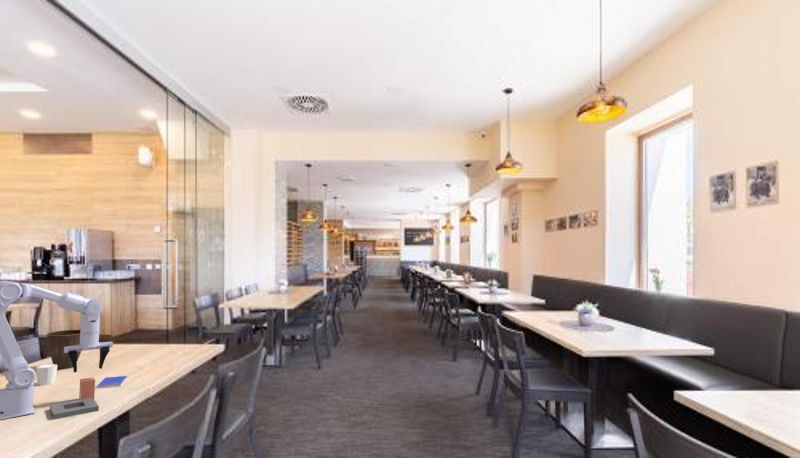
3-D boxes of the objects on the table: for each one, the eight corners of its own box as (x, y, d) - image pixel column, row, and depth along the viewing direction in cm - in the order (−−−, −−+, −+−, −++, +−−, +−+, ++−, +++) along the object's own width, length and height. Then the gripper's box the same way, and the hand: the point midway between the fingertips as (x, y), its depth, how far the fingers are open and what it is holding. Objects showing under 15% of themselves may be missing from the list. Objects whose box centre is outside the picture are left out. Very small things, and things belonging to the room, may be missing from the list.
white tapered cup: (55, 379, 186) (56, 362, 186) (58, 383, 181) (58, 365, 181) (34, 383, 181) (35, 365, 181) (36, 386, 176) (37, 368, 176)
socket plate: (53, 419, 142) (53, 414, 142) (49, 409, 151) (50, 404, 151) (98, 410, 150) (98, 405, 150) (92, 401, 159) (92, 397, 159)
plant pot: (89, 362, 215) (91, 329, 216) (78, 370, 201) (80, 334, 202) (53, 364, 211) (54, 330, 211) (38, 372, 196) (40, 336, 197)
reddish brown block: (80, 401, 159) (81, 381, 160) (79, 398, 162) (80, 379, 162) (94, 399, 162) (95, 379, 162) (92, 396, 165) (93, 377, 165)
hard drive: (120, 383, 178) (127, 375, 189) (96, 385, 175) (104, 377, 186) (120, 387, 177) (127, 379, 189) (96, 389, 175) (104, 381, 186)
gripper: (66, 336, 155) (64, 375, 155) (115, 331, 165) (113, 368, 164) (64, 333, 161) (62, 371, 160) (111, 329, 170) (109, 365, 170)
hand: (88, 369), depth 163 cm, fingers open, 7 cm apart
